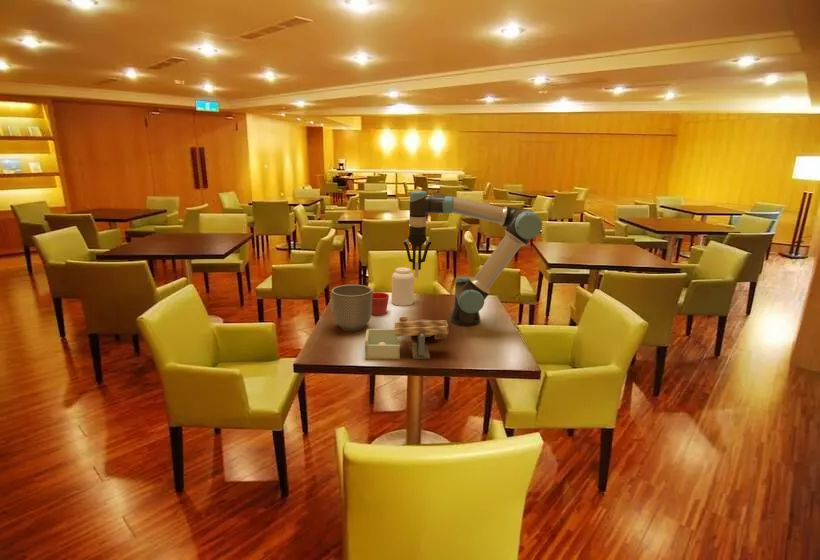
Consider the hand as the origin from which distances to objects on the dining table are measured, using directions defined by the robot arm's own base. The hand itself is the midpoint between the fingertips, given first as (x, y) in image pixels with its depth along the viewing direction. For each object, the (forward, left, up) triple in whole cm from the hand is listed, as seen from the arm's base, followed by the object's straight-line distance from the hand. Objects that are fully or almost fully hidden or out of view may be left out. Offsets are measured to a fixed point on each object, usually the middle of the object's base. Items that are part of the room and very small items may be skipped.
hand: (416, 276), depth 209 cm
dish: (-4, +8, -27) cm, 28 cm away
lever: (-1, +21, -19) cm, 28 cm away
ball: (+15, +26, -24) cm, 38 cm away
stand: (-1, +26, -26) cm, 37 cm away
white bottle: (+5, -41, -27) cm, 49 cm away
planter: (+30, -2, -27) cm, 40 cm away
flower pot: (+18, -24, -27) cm, 40 cm away
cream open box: (+15, +26, -26) cm, 40 cm away
